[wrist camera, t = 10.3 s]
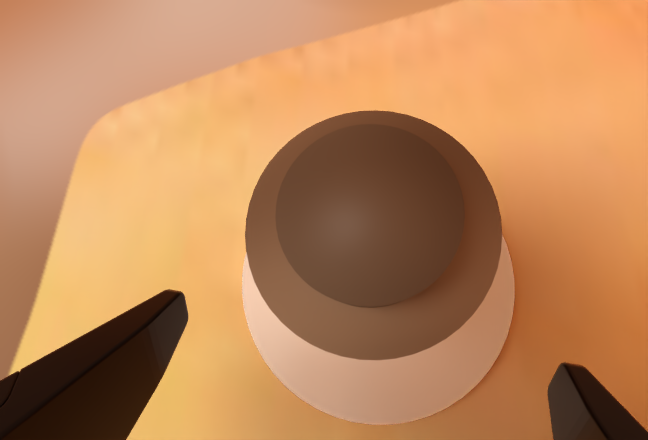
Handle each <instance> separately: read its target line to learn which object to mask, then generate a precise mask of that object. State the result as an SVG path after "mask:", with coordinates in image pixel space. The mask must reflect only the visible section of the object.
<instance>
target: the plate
mask: <svg viewBox="0 0 648 440" xmlns="http://www.w3.org/2000/svg"><path fill="white" fill-rule="evenodd" d="M242 296H243V305H244V311H245V315H246V320H247V324H248V327H249V330H250V333H251V335H252V338H253V341H254V343H255V345H256V347H257V349H258V351H259V352H260V354H261V356H262V358H263V360H264V361H265V362H266V364H267V365H268V367H269V368H270V369H271V371H272V372H273V374H274V375H275V376H276V377H277V378H278V379H279V380H280V381H281V382H282V383H283V384H284V385H285V386H286V388H288V389H289V390H290V391H291V392H293V393H294V394H295V395H296V396H297V397H299V398H300V399H301V400H303V401H305V402H306V403H308V404H309V405H311V406H313V407H314V408H316V409H318V410H320V411H322V412H325V413H327V414H329V415H331V416H334V417H337V418H340V419H344V420H347V421H351V422H356V423H363V424H370V425H393V424H399V423H406V422H412V421H415V420H418V419H422V418H425V417H429V416H431V415H433V414H435V413H437V412H439V411H442V410H444V409H446V408H448V407H449V406H451V405H452V404H454V403H455V402H457V401H458V400H460V399H461V398H463V397H464V396H465V395H466V394H467V393H468V392H470V391H471V390H472V389H473V388H474V387H475V386H476V385H477V384H478V383H479V382H480V381H481V380H482V378H483V377H484V376H485V375H486V374H487V372H488V371H489V370H490V369H491V367H492V365H493V364H494V362H495V360H496V359H497V357H498V356H499V354H500V352H501V349H502V347H503V345H504V343H505V340H506V338H507V335H508V332H509V328H510V324H511V321H512V316H513V309H514V301H515V280H514V274H513V267H512V261H511V258H510V254H509V251H508V247H507V244H506V242H505V239H504V237H503V235H502V244H501V254H500V259H499V264H498V269H497V272H496V274H495V277H494V280H493V283H492V285H491V287H490V289H489V291H488V293H487V295H486V297H485V298H484V300H483V302H482V303H481V305H480V306H479V307H478V309H477V310H476V311H475V313H474V314H473V315H472V316H471V317H470V318H469V319H468V320H467V322H466V323H465V324H464V325H463V326H462V327H461V328H459V329H458V330H457V331H456V332H454V333H453V334H452V335H450V336H449V337H448V338H446V339H445V340H443V341H441V342H440V343H438V344H436V345H434V346H432V347H431V348H428V349H426V350H423V351H421V352H418V353H416V354H413V355H409V356H404V357H400V358H396V359H387V360H359V359H353V358H347V357H342V356H339V355H336V354H333V353H329V352H326V351H324V350H322V349H320V348H318V347H316V346H313V345H311V344H309V343H308V342H306V341H305V340H303V339H302V338H300V337H299V336H297V335H296V334H294V333H293V332H292V331H291V330H290V329H288V328H287V327H286V326H285V325H284V324H283V323H282V322H281V321H280V320H279V319H278V318H277V317H276V315H275V314H274V313H273V312H272V311H271V310H270V308H269V307H268V305H267V304H266V302H265V301H264V299H263V298H262V296H261V294H260V292H259V290H258V288H257V286H256V284H255V282H254V279H253V276H252V273H251V270H250V267H249V262H248V257H247V252H246V255H245V260H244V267H243V274H242Z"/></svg>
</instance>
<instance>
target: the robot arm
mask: <svg viewBox="0 0 648 440" xmlns="http://www.w3.org/2000/svg"><path fill="white" fill-rule="evenodd" d="M187 321H188V311H187V306H186V301H185V296H184V294H183V293H182V292H181V291H176V290H170V289H168V290H165V291H163V292H161V293H159V294H157V295H155V296H154V297H152V298H150V299H148V300H146V301H144V302H143V303H141V304H139V305H137V306H135V307H134V308H132V309H130V310H128V311H126V312H124V313H123V314H121V315H119V316H117V317H115V318H114V319H112V320H110V321H108V322H106V323H104V324H103V325H101V326H99V327H97V328H95V329H93V330H92V331H90V332H88V333H86V334H84V335H83V336H81V337H79V338H77V339H75V340H73V341H72V342H70V343H68V344H66V345H64V346H63V347H61V348H59V349H57V350H55V351H53V352H52V353H50V354H48V355H46V356H44V357H43V358H41V359H39V360H37V361H35V362H33V363H32V364H30V365H28V366H26V367H24V368H22V369H21V371H20V372H19V371H17V372H15V373H13V374H11V375H10V376H8V377H6V378H4V379H2V380H0V440H126V439H127V437H128V436H129V434H130V432H131V430H132V429H133V427H134V425H135V424H136V422H137V420H138V418H139V417H140V415H141V413H142V412H143V410H144V408H145V407H146V405H147V403H148V401H149V400H150V398H151V396H152V395H153V393H154V391H155V389H156V388H157V386H158V384H159V382H160V381H161V379H162V377H163V375H164V373H165V371H166V369H167V366H168V364H169V362H170V360H171V358H172V355H173V353H174V351H175V349H176V347H177V344H178V342H179V340H180V338H181V336H182V333H183V331H184V329H185V327H186V324H187ZM548 401H549V409H550V417H551V424H552V432H553V440H648V432H647V431H646V430H645V429H644V428H643V427H642V426H641V425H640V423H639V422H638V421H637V420H636V419H635V418H634V417H633V416H632V415H631V414H630V413H629V412H628V411H627V410H626V409H625V408H624V407H623V406H622V405H621V404H620V403H619V402H618V401H617V400H616V399H615V398H614V397H613V396H612V395H611V394H610V392H609V391H608V390H607V389H606V388H605V387H604V386H603V385H602V384H601V383H600V382H599V381H598V380H597V379H596V378H595V377H594V376H593V375H592V374H591V373H590V372H589V371H588V370H587V369H586V368H585V367H583V366H581V365H577V364H572V363H566V362H564V363H561V364H560V365H559V367H558V369H557V371H556V373H555V375H554V376H553V378H552V380H551V382H550V384H549V387H548Z"/></svg>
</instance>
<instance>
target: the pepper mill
mask: <svg viewBox="0 0 648 440" xmlns="http://www.w3.org/2000/svg"><path fill="white" fill-rule="evenodd" d="M245 239H246V252H247V257H248V262H249V267H250V270H251V273H252V276H253V279H254V282H255V284H256V286H257V288H258V290H259V292H260V294H261V296H262V298H263V299H264V301H265V302H266V304H267V305H268V307H269V308H270V310H271V311H272V312H273V313H274V314H275V315H276V317H277V318H278V319H279V320H280V321H281V322H282V323H283V324H284V325H285V326H286V327H287V328H288V329H290V330H291V331H292V332H293V333H294V334H296V335H297V336H299V337H300V338H302V339H303V340H305V341H306V342H308V343H309V344H311V345H313V346H316V347H318V348H320V349H322V350H324V351H326V352H329V353H333V354H336V355H339V356H342V357H347V358H353V359H359V360H387V359H396V358H400V357H404V356H409V355H413V354H416V353H418V352H421V351H423V350H426V349H428V348H431V347H432V346H434V345H436V344H438V343H440V342H441V341H443V340H445V339H446V338H448V337H449V336H450V335H452V334H453V333H454V332H456V331H457V330H458V329H459V328H461V327H462V326H463V325H464V324H465V323H466V322H467V320H468V319H469V318H470V317H471V316H472V315H473V314H474V313H475V311H476V310H477V309H478V307H479V306H480V305H481V303H482V302H483V300H484V298H485V297H486V295H487V293H488V291H489V289H490V287H491V285H492V283H493V280H494V277H495V274H496V272H497V269H498V264H499V259H500V254H501V244H502V227H501V216H500V212H499V207H498V203H497V200H496V197H495V194H494V191H493V189H492V186H491V184H490V182H489V180H488V178H487V177H486V175H485V173H484V171H483V169H482V168H481V167H480V165H479V164H478V163H477V161H476V160H475V158H474V157H473V156H472V155H471V154H470V153H469V152H468V151H467V150H466V149H465V147H464V146H463V145H461V144H460V143H459V142H458V141H457V140H455V139H454V138H453V137H452V136H450V135H449V134H447V133H446V132H444V131H443V130H441V129H439V128H438V127H436V126H434V125H432V124H430V123H428V122H426V121H423V120H421V119H418V118H415V117H412V116H409V115H405V114H400V113H395V112H388V111H359V112H352V113H346V114H342V115H339V116H335V117H332V118H329V119H326V120H324V121H322V122H319V123H317V124H315V125H313V126H311V127H309V128H308V129H306V130H304V131H302V132H301V133H300V134H298V135H297V136H296V137H294V138H293V139H291V140H290V141H289V142H288V143H287V144H286V145H285V146H284V147H283V148H282V149H281V150H279V152H278V153H277V154H276V155H275V156H274V158H273V159H272V160H271V161H270V162H269V164H268V165H267V167H266V168H265V170H264V172H263V173H262V175H261V176H260V179H259V181H258V183H257V185H256V187H255V189H254V192H253V195H252V198H251V201H250V204H249V208H248V213H247V218H246V231H245Z"/></svg>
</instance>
